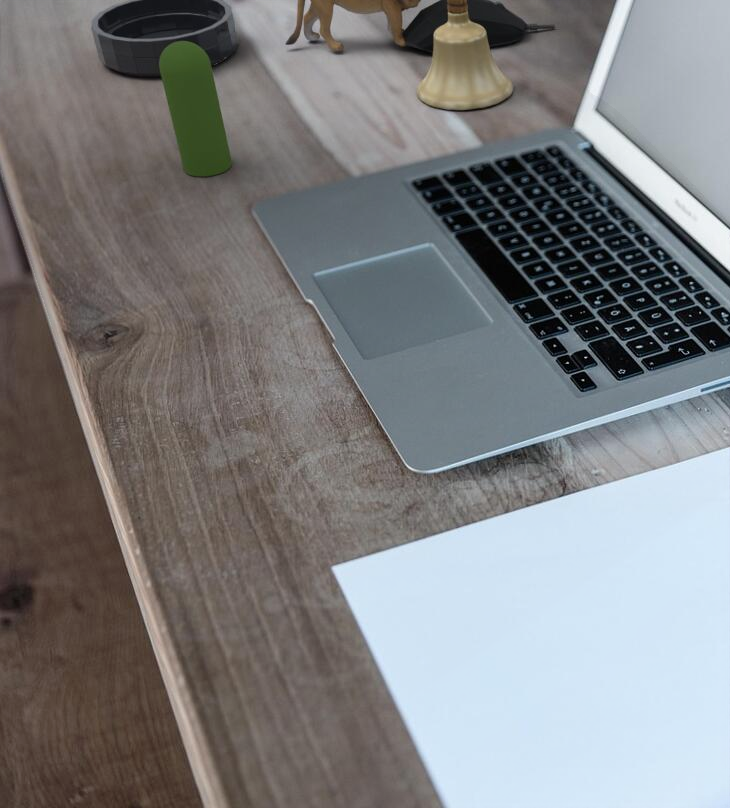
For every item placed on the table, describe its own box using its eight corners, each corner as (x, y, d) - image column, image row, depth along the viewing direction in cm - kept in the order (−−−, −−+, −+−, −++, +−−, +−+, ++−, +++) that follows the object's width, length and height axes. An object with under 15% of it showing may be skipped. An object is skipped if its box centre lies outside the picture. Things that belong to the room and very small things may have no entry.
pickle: (184, 179, 91) (154, 54, 86) (182, 159, 94) (153, 36, 88) (233, 173, 92) (207, 48, 86) (230, 153, 95) (204, 31, 89)
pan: (100, 86, 105) (89, 47, 103) (102, 38, 115) (92, 1, 113) (243, 70, 109) (236, 31, 106) (234, 24, 118) (227, -12, 116)
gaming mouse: (564, 39, 115) (563, -3, 112) (411, 60, 110) (406, 17, 108) (544, 17, 119) (542, -24, 117) (396, 37, 115) (391, -5, 113)
